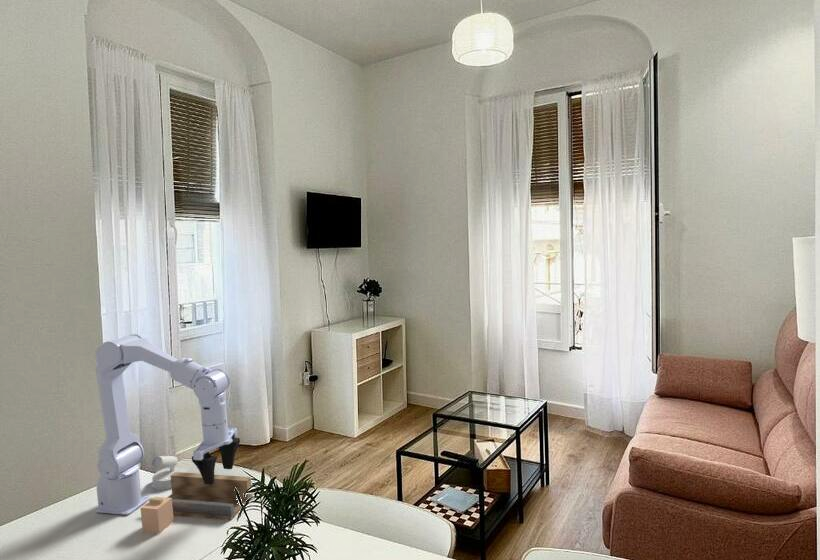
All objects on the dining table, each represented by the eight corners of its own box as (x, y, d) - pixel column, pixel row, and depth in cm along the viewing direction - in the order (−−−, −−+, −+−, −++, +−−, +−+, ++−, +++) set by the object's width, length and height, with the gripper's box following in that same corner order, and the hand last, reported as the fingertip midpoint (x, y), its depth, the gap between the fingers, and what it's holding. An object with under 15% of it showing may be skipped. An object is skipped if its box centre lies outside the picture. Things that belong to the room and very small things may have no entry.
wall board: (151, 513, 128) (149, 490, 127) (177, 492, 137) (175, 472, 137) (231, 520, 123) (229, 497, 123) (252, 498, 133) (250, 477, 132)
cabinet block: (142, 532, 120) (140, 503, 119) (157, 520, 124) (154, 492, 124) (159, 533, 119) (157, 505, 118) (173, 521, 124) (171, 493, 123)
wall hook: (140, 458, 138) (161, 442, 148) (143, 492, 139) (164, 474, 148) (170, 458, 137) (190, 442, 147) (173, 492, 138) (192, 474, 148)
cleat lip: (151, 509, 128) (150, 499, 128) (155, 506, 129) (154, 497, 129) (231, 516, 123) (230, 506, 123) (234, 513, 124) (233, 503, 124)
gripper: (210, 434, 115) (214, 492, 117) (246, 411, 129) (250, 463, 131) (183, 432, 117) (188, 489, 118) (221, 410, 131) (225, 461, 132)
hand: (218, 475), depth 125 cm, fingers open, 7 cm apart
